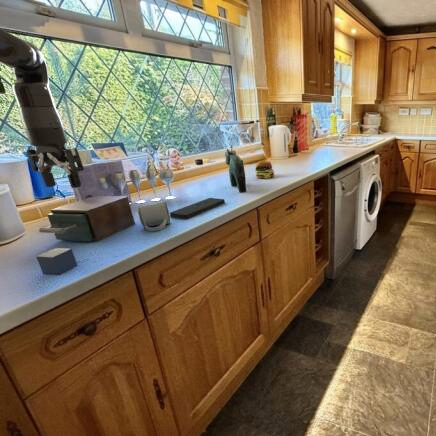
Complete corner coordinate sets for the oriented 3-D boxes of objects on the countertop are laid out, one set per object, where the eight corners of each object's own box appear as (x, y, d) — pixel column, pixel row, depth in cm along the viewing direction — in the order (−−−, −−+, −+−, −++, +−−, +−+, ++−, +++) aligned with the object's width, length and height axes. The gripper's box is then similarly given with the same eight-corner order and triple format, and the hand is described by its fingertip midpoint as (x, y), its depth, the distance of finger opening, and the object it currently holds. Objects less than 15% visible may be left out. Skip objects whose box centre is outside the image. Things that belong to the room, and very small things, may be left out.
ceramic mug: (143, 223, 101) (138, 201, 98) (170, 219, 105) (165, 197, 102) (141, 234, 92) (135, 211, 90) (171, 229, 96) (165, 206, 93)
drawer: (73, 248, 82) (63, 221, 79) (38, 246, 84) (28, 220, 81) (126, 224, 99) (120, 201, 96) (96, 223, 101) (89, 200, 98)
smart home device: (225, 198, 120) (185, 214, 103) (226, 203, 121) (186, 219, 104) (209, 197, 124) (168, 212, 106) (210, 201, 124) (169, 217, 107)
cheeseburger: (258, 180, 158) (255, 161, 157) (254, 181, 168) (251, 163, 167) (277, 177, 162) (273, 158, 161) (272, 178, 172) (269, 161, 171)
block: (43, 273, 71) (35, 256, 69) (62, 264, 75) (55, 247, 74) (59, 275, 70) (52, 257, 68) (77, 265, 74) (71, 248, 73)
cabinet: (97, 241, 88) (87, 210, 85) (61, 240, 90) (50, 209, 87) (135, 223, 102) (127, 196, 98) (103, 222, 104) (94, 195, 100)
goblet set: (100, 209, 117) (90, 176, 113) (101, 205, 122) (92, 173, 117) (178, 198, 131) (172, 167, 126) (177, 195, 135) (171, 165, 131)
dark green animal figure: (228, 184, 151) (222, 144, 144) (241, 183, 154) (235, 143, 147) (236, 193, 134) (230, 147, 128) (251, 191, 137) (245, 146, 130)
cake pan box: (127, 199, 131) (116, 158, 125) (135, 200, 129) (124, 159, 123) (78, 213, 114) (63, 167, 108) (87, 215, 112) (72, 167, 106)
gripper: (5, 127, 76) (28, 189, 81) (50, 126, 73) (71, 191, 79) (37, 125, 83) (56, 183, 88) (80, 124, 80) (97, 184, 85)
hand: (63, 186), depth 83 cm, fingers open, 8 cm apart
